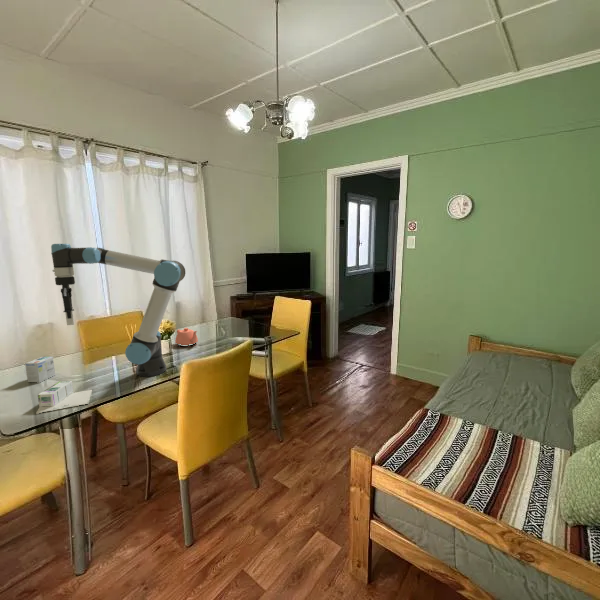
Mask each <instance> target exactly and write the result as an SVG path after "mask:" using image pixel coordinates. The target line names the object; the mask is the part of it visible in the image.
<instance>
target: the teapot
mask: <svg viewBox="0 0 600 600" xmlns="http://www.w3.org/2000/svg"><path fill="white" fill-rule="evenodd" d="M197 332H198V330H193V329H189V327H184V328H183V329H177V330H176V337H175V339H174V341H175V342H174V343H175V344H176V343H177V344H181V345H189V344H194V343H196V342H197V343H198V342H199V339H198V335H197ZM197 343H196V344H197ZM177 344H176V345H177Z"/></svg>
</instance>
